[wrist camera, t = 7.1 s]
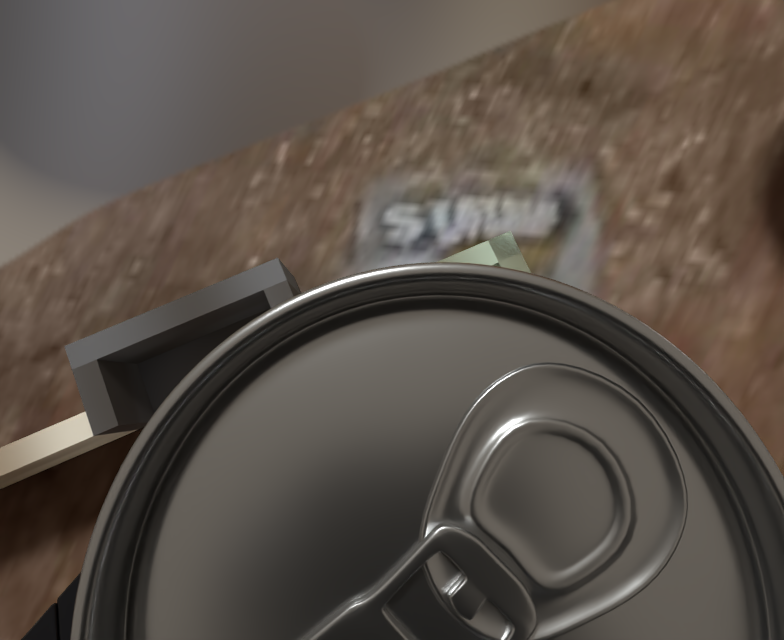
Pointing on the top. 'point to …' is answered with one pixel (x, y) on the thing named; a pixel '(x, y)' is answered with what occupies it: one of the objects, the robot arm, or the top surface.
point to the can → (441, 478)
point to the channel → (170, 357)
